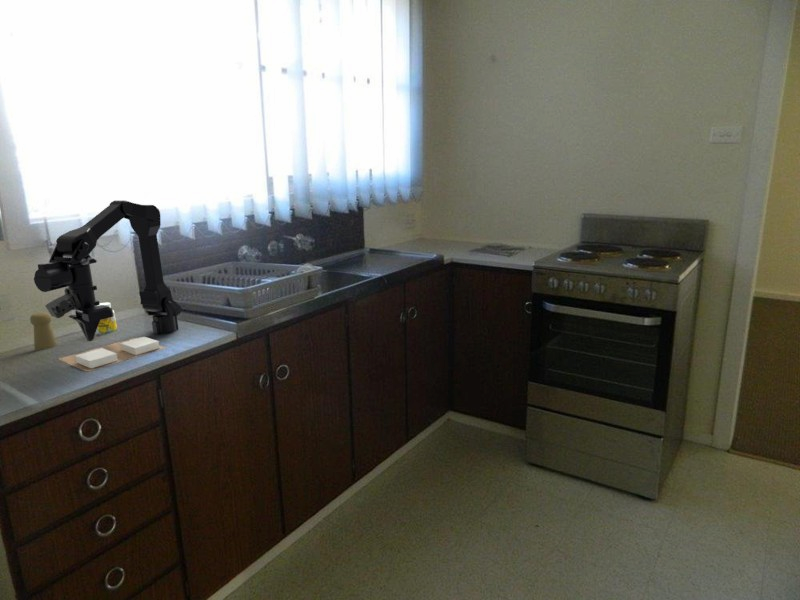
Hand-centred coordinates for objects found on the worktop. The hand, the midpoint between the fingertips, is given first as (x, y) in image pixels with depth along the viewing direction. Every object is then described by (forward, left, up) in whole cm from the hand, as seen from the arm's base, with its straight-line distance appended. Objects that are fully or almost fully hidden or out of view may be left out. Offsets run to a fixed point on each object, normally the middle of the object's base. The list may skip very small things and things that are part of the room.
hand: (90, 340), depth 155 cm
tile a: (-12, -2, -4) cm, 13 cm away
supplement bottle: (-16, -25, -7) cm, 30 cm away
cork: (+2, -25, -7) cm, 26 cm away
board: (-6, -2, -7) cm, 9 cm away
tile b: (0, -2, -4) cm, 5 cm away
